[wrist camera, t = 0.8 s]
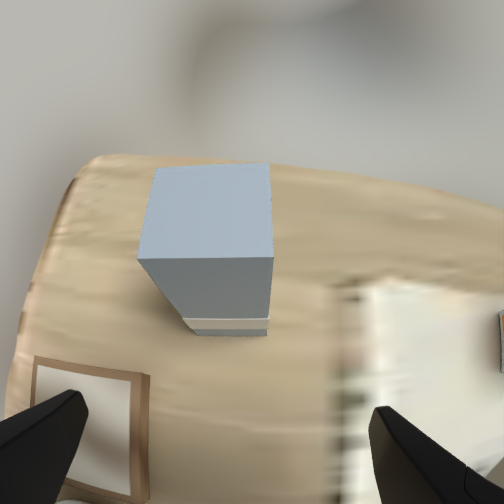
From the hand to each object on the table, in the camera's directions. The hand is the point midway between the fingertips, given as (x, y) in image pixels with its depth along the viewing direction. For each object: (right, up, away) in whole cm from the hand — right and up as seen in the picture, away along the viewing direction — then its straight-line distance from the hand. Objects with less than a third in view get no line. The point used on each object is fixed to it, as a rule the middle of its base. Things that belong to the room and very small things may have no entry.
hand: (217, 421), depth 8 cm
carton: (-1, +1, +15) cm, 15 cm away
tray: (-11, -9, +10) cm, 18 cm away
